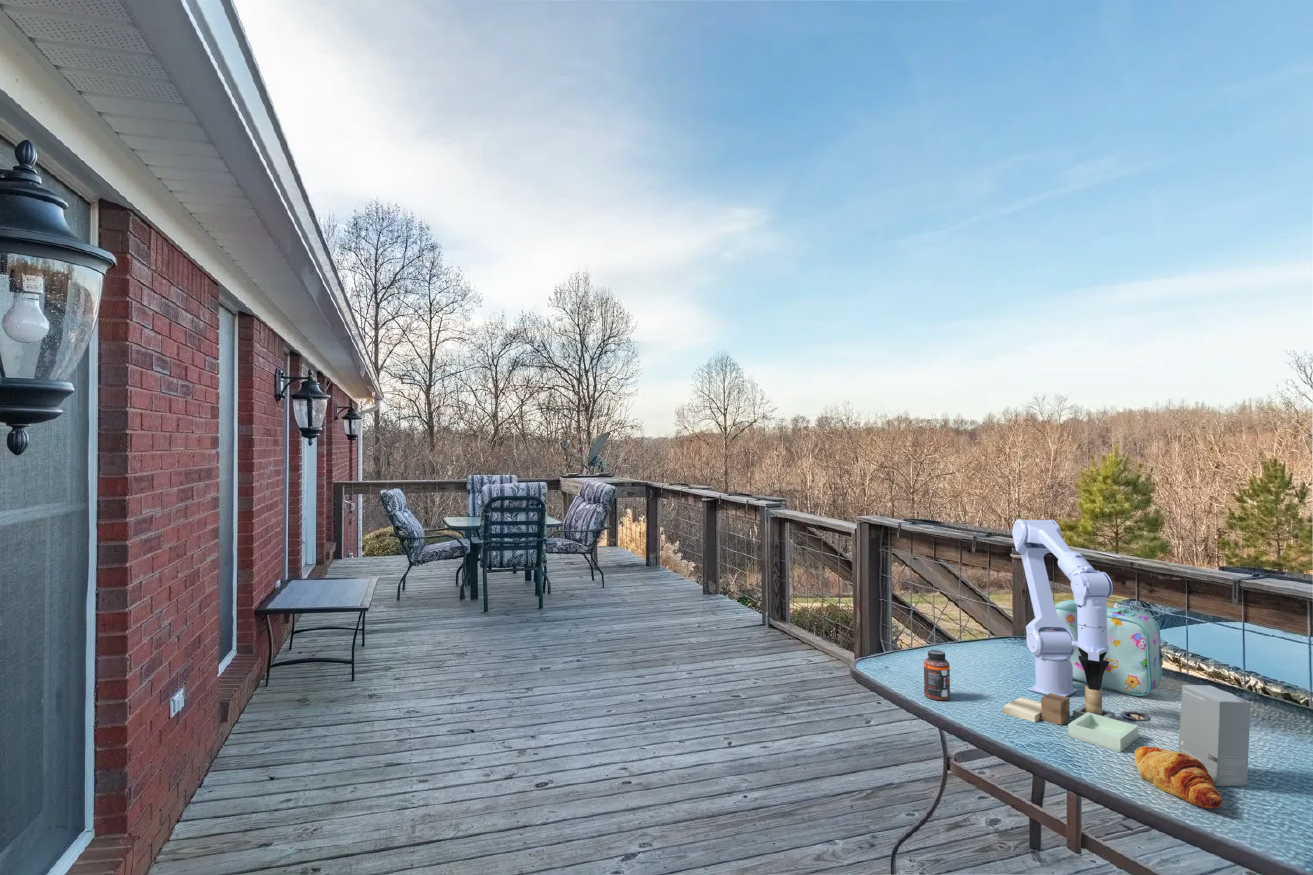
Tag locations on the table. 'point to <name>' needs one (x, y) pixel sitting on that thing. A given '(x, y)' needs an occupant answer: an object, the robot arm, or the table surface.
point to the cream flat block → (1024, 709)
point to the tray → (1103, 731)
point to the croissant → (1178, 775)
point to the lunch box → (1123, 649)
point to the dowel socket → (1082, 711)
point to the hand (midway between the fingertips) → (1093, 684)
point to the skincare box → (1216, 732)
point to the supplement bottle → (936, 676)
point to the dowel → (1093, 701)
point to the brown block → (1055, 708)
